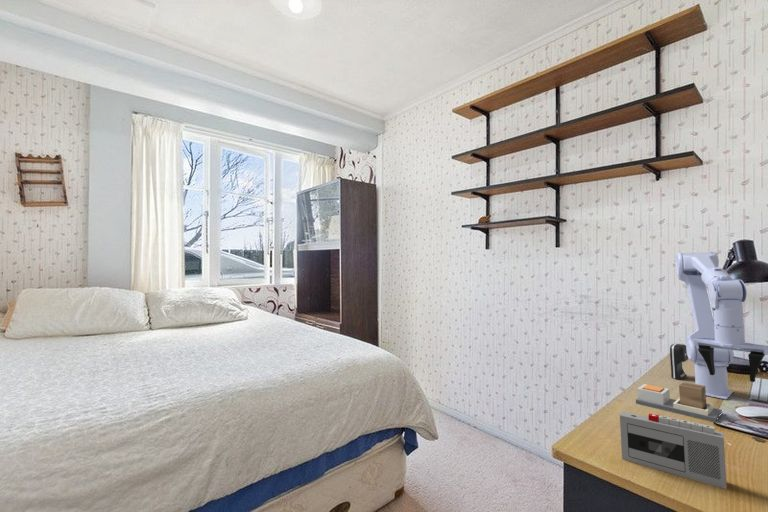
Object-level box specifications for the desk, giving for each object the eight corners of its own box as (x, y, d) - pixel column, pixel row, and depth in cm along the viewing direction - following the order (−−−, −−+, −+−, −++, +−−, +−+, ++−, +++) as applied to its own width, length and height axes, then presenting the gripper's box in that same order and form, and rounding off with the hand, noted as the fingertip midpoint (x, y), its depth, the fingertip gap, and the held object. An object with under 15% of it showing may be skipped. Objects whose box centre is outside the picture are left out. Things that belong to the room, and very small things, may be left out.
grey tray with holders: (645, 396, 108) (644, 383, 108) (722, 413, 94) (721, 398, 94) (635, 403, 103) (635, 389, 103) (715, 422, 89) (714, 406, 89)
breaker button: (647, 394, 105) (647, 384, 106) (664, 398, 102) (663, 387, 102) (643, 398, 103) (642, 387, 103) (660, 401, 100) (659, 391, 100)
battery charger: (685, 381, 120) (683, 347, 121) (671, 378, 123) (669, 345, 124) (690, 377, 124) (688, 343, 125) (676, 374, 127) (675, 342, 128)
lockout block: (685, 403, 99) (683, 381, 99) (706, 408, 95) (705, 385, 95) (680, 408, 96) (679, 385, 96) (702, 413, 92) (700, 389, 93)
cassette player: (622, 459, 74) (619, 410, 74) (624, 454, 76) (622, 406, 76) (726, 489, 63) (723, 432, 64) (726, 482, 65) (723, 427, 66)
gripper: (689, 324, 98) (692, 374, 97) (766, 330, 86) (770, 387, 86) (695, 321, 102) (698, 369, 102) (770, 327, 91) (773, 381, 90)
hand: (731, 377), depth 94 cm, fingers open, 7 cm apart
